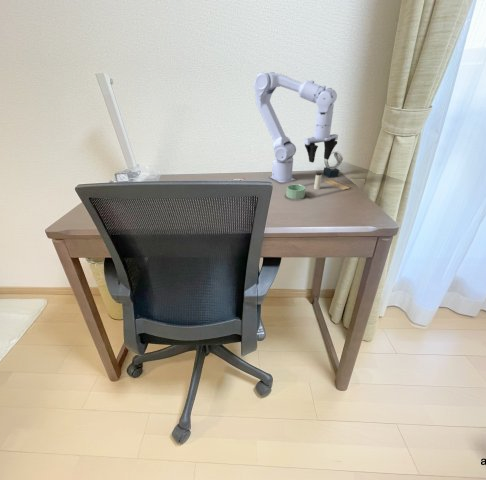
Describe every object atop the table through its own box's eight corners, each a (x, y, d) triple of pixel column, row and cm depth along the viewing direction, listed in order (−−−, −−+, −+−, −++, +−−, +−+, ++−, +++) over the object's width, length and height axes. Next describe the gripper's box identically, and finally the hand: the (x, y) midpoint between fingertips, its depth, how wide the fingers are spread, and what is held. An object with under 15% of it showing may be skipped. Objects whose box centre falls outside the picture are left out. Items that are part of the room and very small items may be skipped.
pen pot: (282, 195, 103) (283, 186, 101) (297, 191, 106) (298, 183, 103) (292, 201, 98) (293, 192, 96) (308, 197, 100) (309, 188, 98)
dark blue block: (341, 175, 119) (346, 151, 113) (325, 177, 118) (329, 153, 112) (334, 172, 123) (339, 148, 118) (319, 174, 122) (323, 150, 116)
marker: (312, 188, 107) (314, 171, 103) (317, 187, 108) (319, 170, 104) (316, 190, 105) (318, 173, 102) (320, 189, 106) (323, 172, 102)
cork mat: (291, 188, 109) (291, 187, 109) (329, 180, 115) (329, 179, 115) (309, 198, 100) (310, 197, 100) (349, 188, 106) (350, 187, 105)
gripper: (314, 128, 93) (310, 165, 101) (345, 123, 98) (340, 159, 105) (302, 126, 99) (299, 161, 106) (332, 121, 103) (327, 156, 110)
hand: (318, 160), depth 106 cm, fingers open, 7 cm apart
